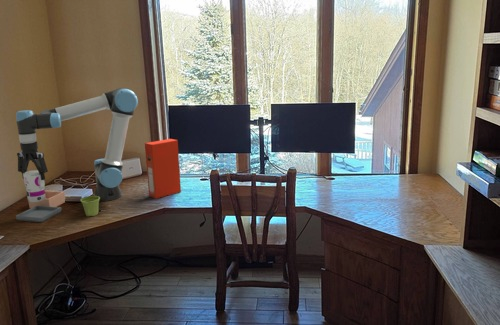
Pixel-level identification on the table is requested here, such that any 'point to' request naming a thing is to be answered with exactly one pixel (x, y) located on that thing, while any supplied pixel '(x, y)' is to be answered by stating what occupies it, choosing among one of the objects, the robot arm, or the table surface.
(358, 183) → the table surface
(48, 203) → the holder
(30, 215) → the tray
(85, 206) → the plant pot
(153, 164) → the file binder
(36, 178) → the supplement can
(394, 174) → the table surface
